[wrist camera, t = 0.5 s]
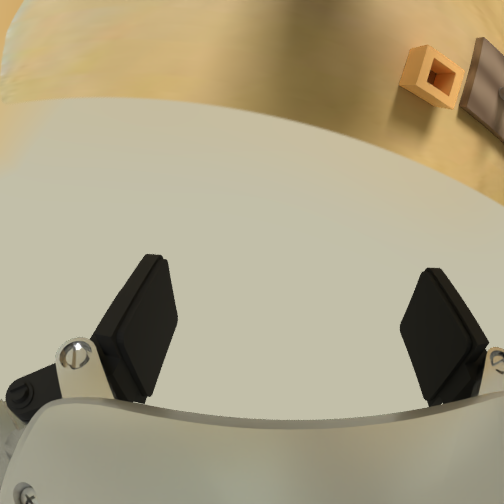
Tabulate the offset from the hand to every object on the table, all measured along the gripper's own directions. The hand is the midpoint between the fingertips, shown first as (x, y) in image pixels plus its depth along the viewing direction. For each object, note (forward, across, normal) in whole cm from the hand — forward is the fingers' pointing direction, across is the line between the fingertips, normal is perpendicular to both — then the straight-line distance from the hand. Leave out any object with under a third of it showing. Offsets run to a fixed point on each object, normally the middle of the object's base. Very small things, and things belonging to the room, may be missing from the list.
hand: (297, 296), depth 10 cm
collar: (+28, -19, -13) cm, 36 cm away
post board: (+28, -38, -14) cm, 49 cm away
